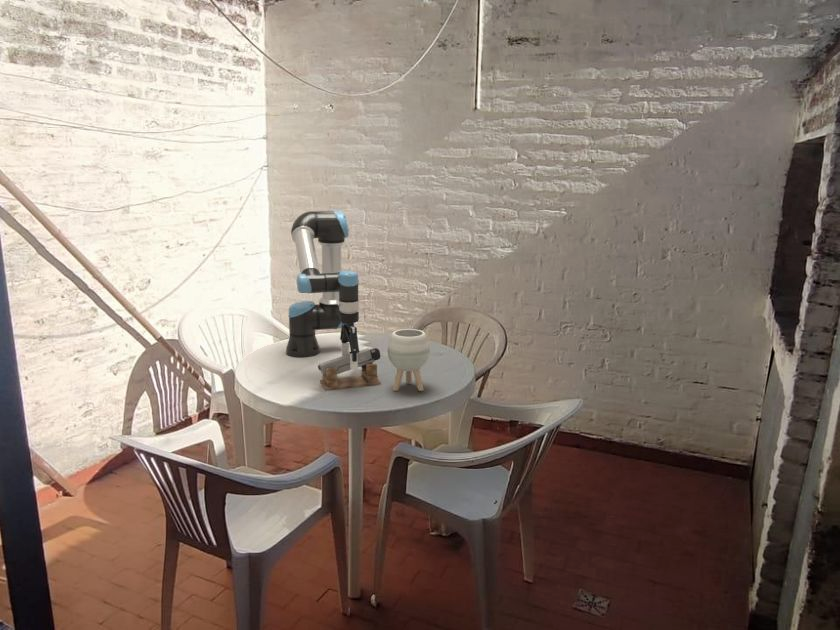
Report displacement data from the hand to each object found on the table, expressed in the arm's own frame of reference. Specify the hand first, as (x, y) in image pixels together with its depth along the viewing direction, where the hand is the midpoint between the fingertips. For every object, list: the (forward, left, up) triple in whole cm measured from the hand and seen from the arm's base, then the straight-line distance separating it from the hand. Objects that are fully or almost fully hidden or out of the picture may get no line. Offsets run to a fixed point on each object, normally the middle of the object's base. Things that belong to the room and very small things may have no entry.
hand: (349, 363), depth 251 cm
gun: (0, 0, -5) cm, 5 cm away
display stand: (0, 0, -8) cm, 8 cm away
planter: (+13, +20, -8) cm, 25 cm away
